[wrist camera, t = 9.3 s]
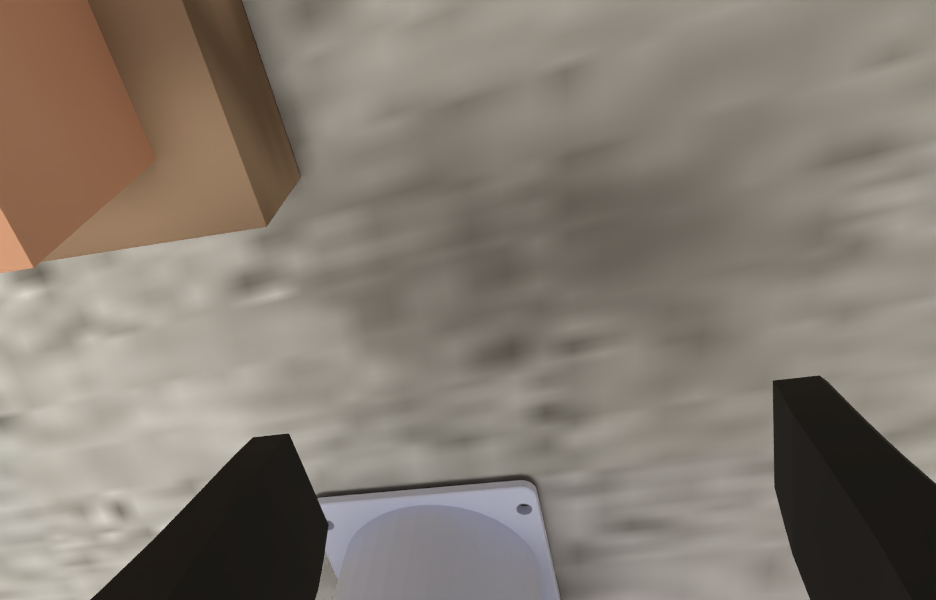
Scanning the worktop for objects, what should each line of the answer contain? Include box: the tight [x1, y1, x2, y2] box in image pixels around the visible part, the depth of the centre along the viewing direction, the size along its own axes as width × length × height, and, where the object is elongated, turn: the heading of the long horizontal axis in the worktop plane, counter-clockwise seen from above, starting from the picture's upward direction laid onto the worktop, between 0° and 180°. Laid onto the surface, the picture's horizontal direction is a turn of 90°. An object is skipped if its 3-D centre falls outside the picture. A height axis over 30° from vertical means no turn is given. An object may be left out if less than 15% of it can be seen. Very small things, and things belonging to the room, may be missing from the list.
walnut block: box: [41, 0, 301, 262], centre depth 18 cm, size 9×9×3 cm
